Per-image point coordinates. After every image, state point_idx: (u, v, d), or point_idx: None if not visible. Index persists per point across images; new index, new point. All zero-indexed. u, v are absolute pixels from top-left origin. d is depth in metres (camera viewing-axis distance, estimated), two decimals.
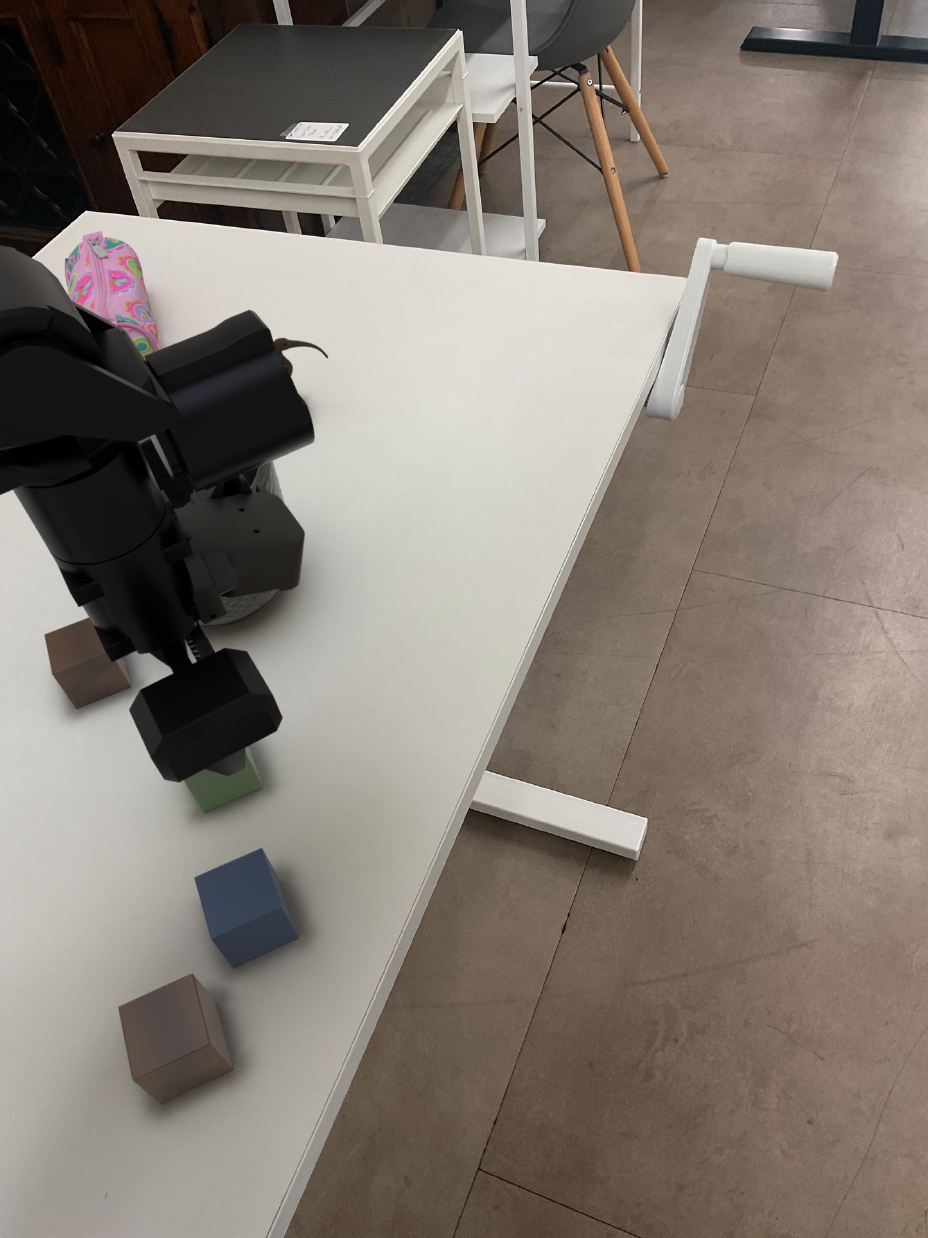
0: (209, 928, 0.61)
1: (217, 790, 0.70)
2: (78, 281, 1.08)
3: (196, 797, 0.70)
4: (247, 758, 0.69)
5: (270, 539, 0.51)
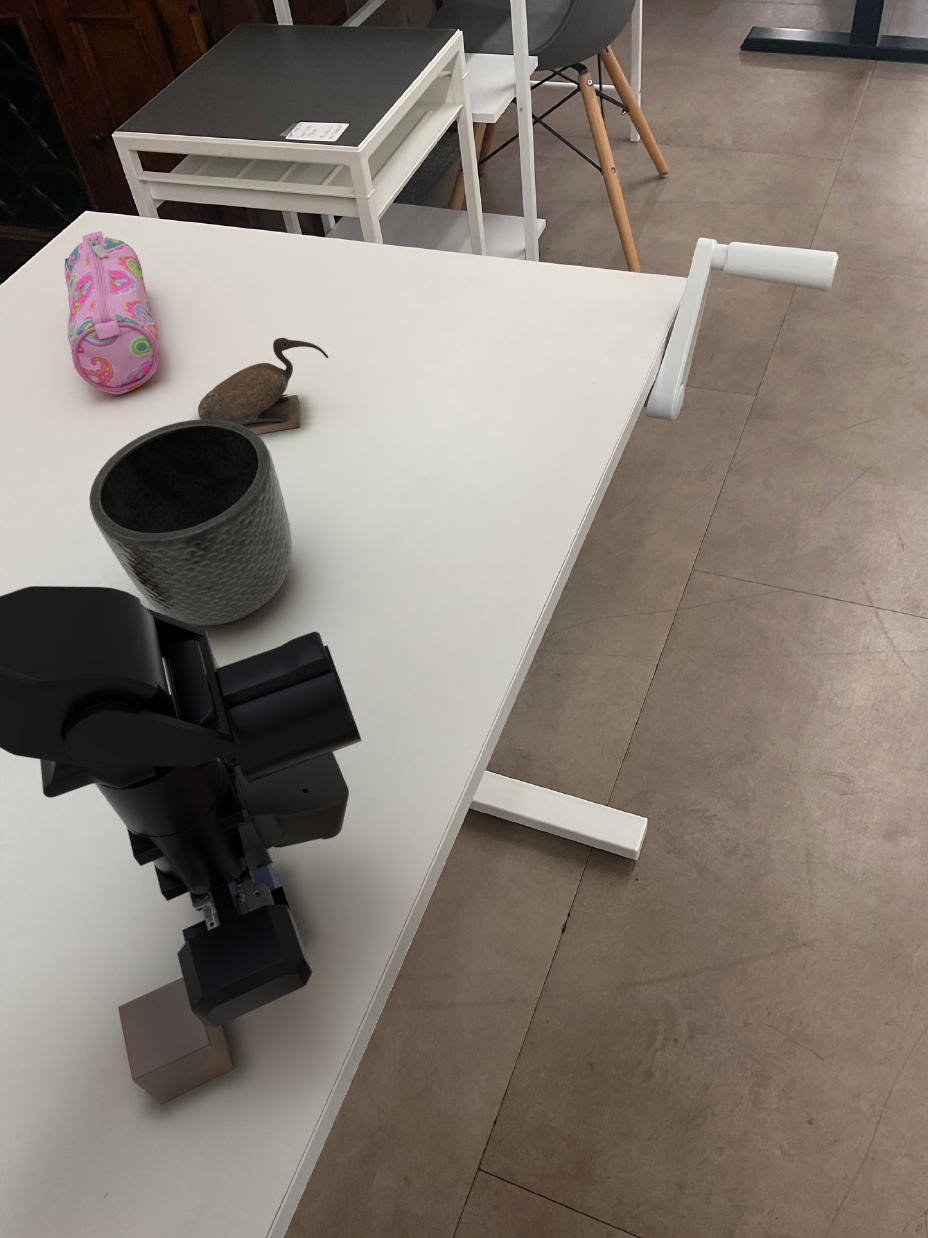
0: None
1: None
2: (78, 281, 1.08)
3: None
4: None
5: (317, 801, 0.56)
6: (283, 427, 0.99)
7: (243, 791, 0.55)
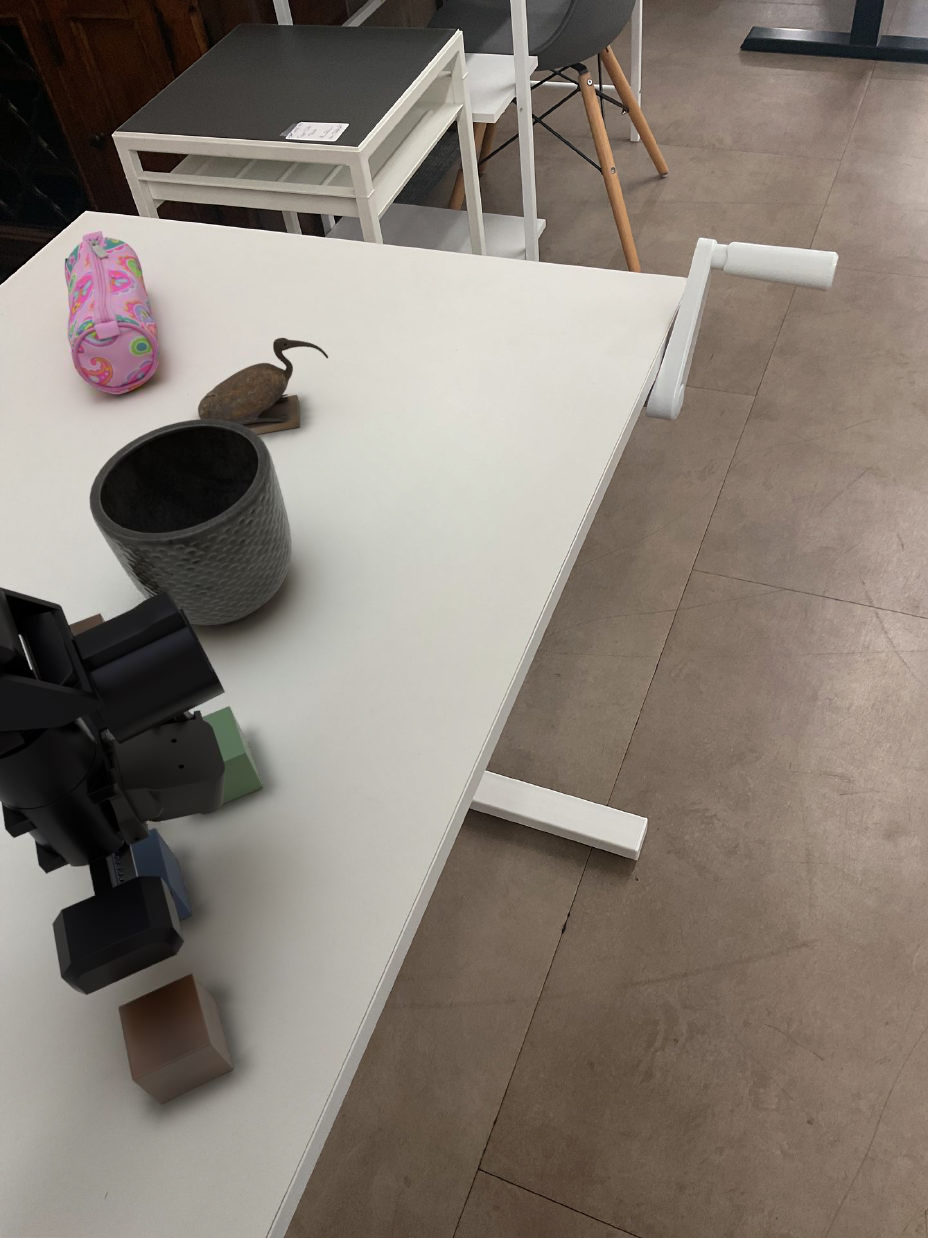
0: None
1: None
2: (78, 281, 1.08)
3: None
4: (247, 758, 0.69)
5: (192, 776, 0.57)
6: (283, 427, 0.99)
7: (119, 767, 0.57)
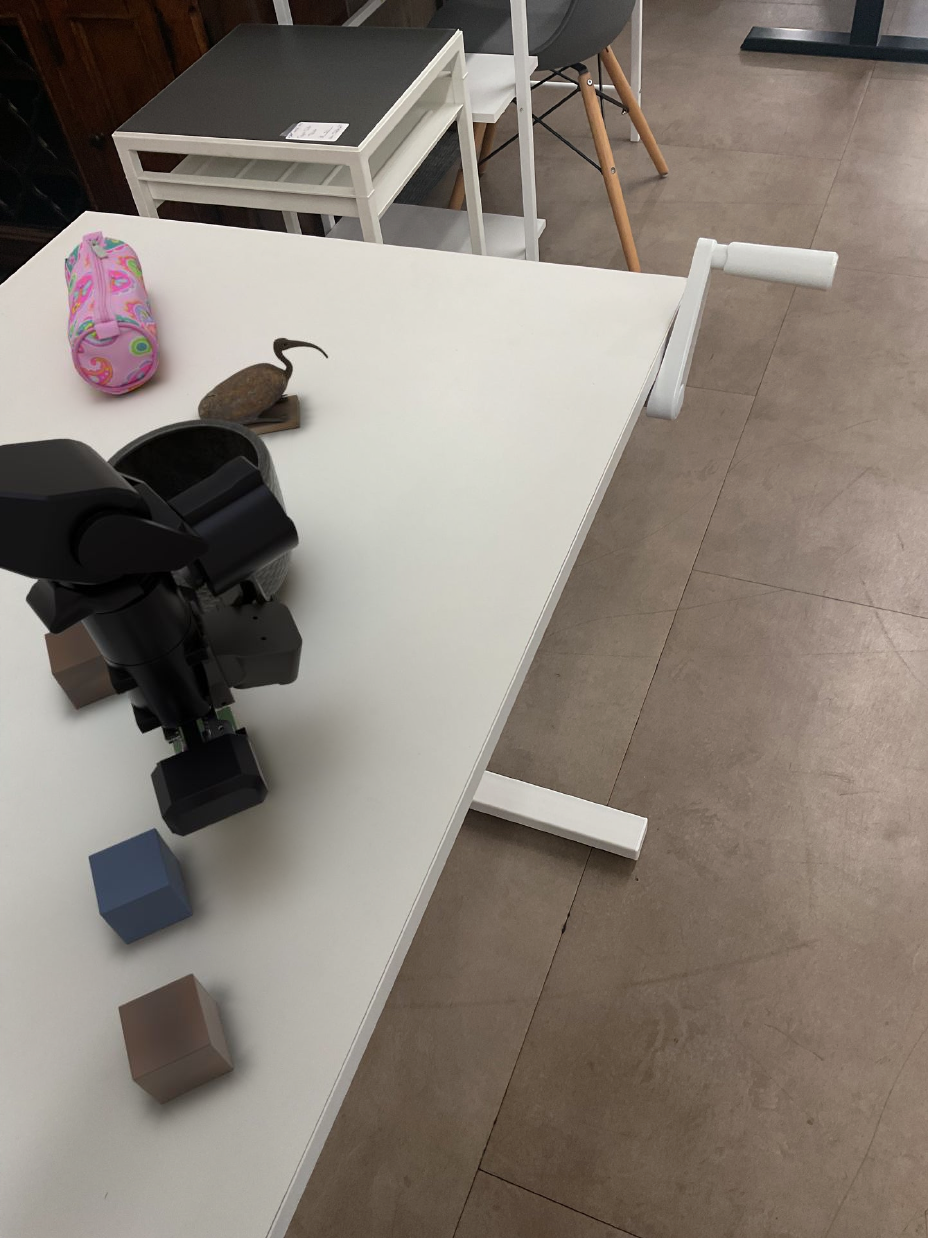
0: (99, 904, 0.62)
1: None
2: (78, 281, 1.08)
3: None
4: None
5: (273, 646, 0.64)
6: (283, 427, 0.99)
7: (209, 637, 0.63)
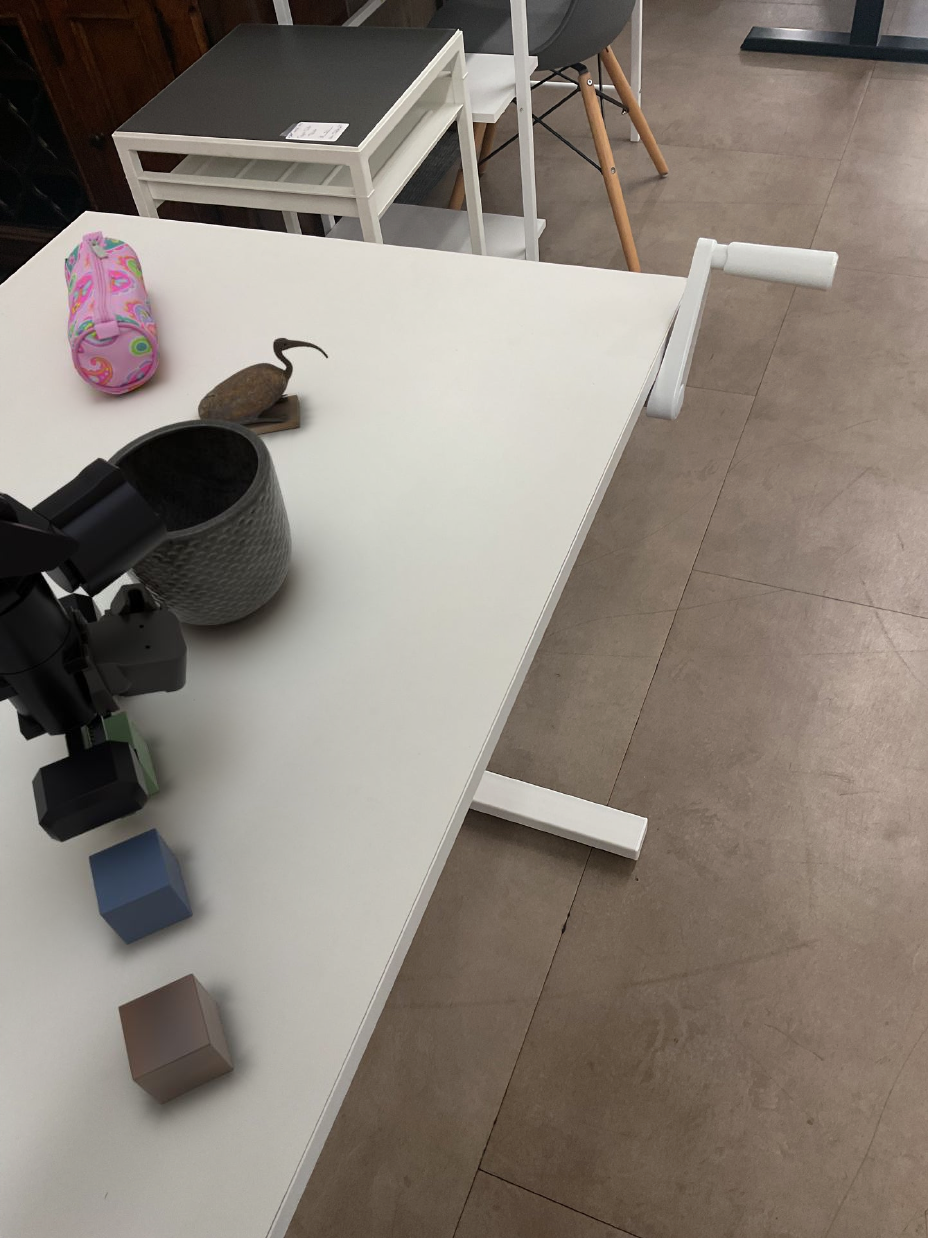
0: (99, 905, 0.62)
1: None
2: (78, 281, 1.08)
3: None
4: None
5: (157, 654, 0.65)
6: (283, 427, 0.99)
7: (92, 645, 0.64)
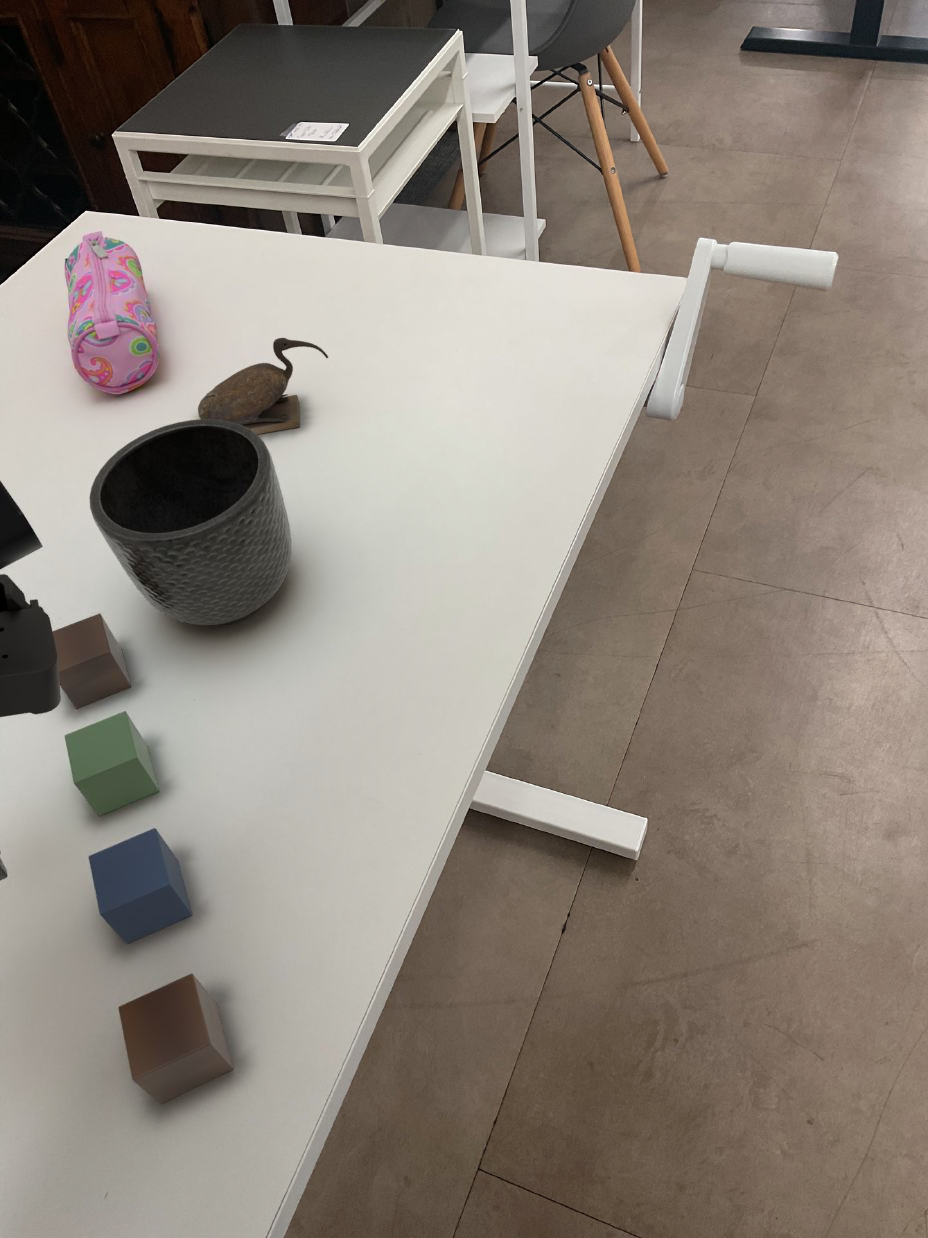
0: (99, 904, 0.62)
1: (111, 794, 0.71)
2: (78, 281, 1.08)
3: (90, 801, 0.71)
4: (139, 763, 0.70)
5: (16, 666, 0.50)
6: (283, 427, 0.99)
7: None
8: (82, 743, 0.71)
